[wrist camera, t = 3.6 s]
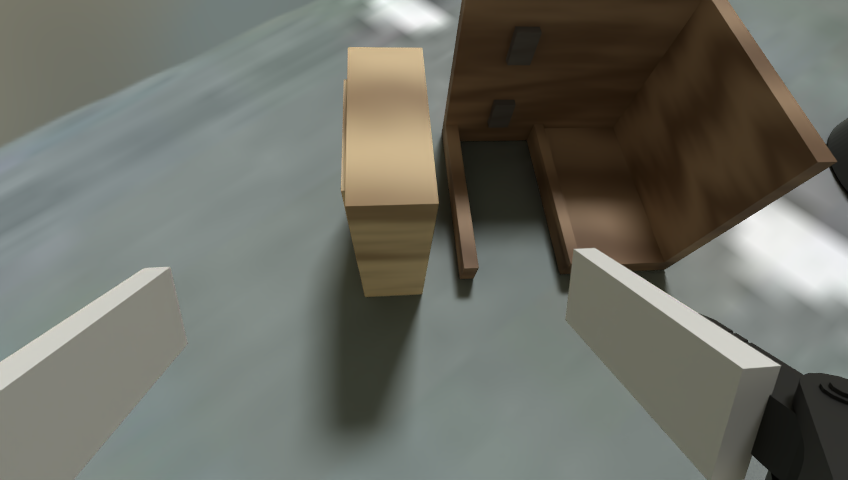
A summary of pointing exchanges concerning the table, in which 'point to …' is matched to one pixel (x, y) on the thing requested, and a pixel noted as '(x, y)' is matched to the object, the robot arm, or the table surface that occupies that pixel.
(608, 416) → the table surface
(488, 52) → the cabinet
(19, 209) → the table surface
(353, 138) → the tan block
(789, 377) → the robot arm
